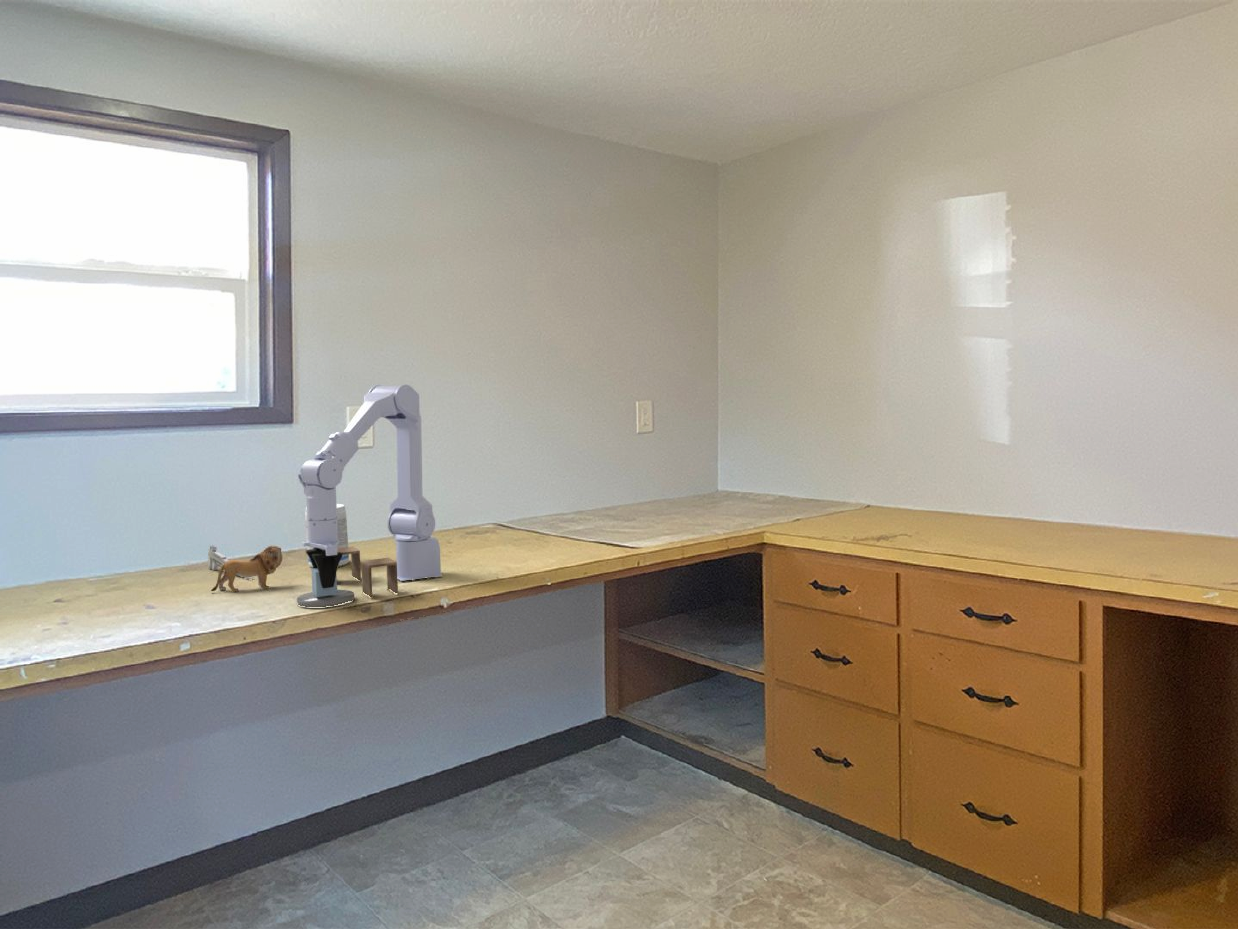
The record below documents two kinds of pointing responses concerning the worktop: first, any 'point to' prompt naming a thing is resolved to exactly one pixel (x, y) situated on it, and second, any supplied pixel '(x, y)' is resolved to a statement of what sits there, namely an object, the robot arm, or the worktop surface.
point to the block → (317, 586)
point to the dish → (325, 599)
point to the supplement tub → (341, 533)
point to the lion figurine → (251, 568)
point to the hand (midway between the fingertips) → (325, 585)
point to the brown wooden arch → (353, 560)
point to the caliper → (217, 560)
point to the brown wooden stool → (367, 574)
